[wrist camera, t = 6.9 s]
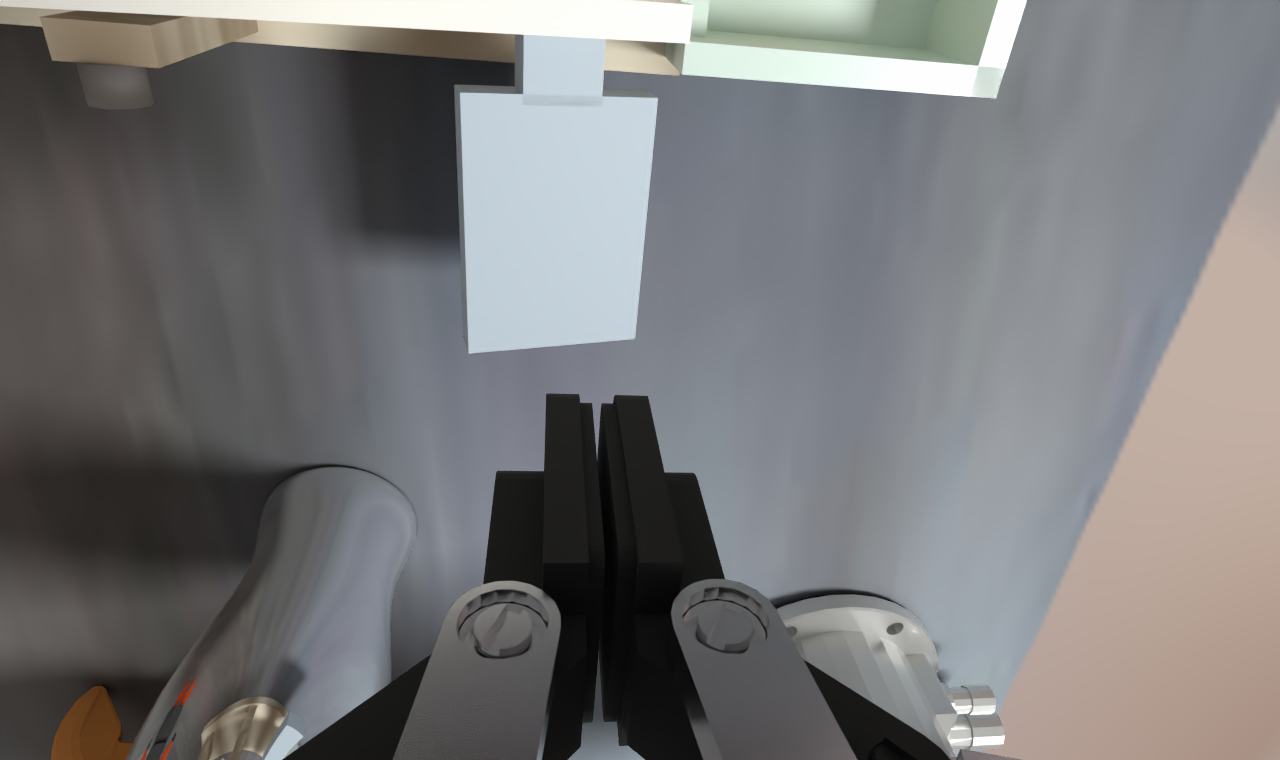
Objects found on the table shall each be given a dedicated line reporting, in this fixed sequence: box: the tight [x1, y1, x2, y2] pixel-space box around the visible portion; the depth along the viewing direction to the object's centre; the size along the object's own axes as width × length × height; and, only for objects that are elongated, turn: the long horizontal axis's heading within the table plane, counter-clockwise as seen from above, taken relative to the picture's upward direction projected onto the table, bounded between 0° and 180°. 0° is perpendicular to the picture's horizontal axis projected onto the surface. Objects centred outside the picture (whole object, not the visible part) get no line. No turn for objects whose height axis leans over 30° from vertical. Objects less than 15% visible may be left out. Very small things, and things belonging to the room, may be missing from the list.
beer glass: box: [125, 467, 417, 760], centre depth 25 cm, size 7×7×15 cm
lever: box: [0, 0, 694, 353], centre depth 15 cm, size 24×14×5 cm, turn 85°
